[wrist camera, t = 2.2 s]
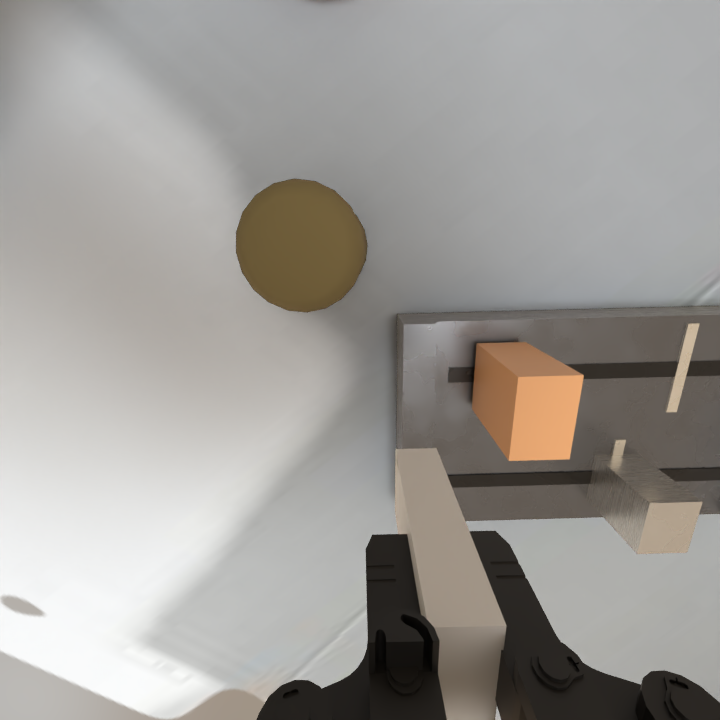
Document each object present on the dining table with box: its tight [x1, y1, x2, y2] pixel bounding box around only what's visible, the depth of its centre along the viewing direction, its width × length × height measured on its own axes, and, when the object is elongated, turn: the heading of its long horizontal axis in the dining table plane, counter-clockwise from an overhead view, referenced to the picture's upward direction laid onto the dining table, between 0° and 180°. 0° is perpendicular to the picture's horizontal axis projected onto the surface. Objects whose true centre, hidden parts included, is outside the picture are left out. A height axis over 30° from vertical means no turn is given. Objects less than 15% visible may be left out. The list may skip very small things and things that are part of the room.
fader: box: [472, 342, 584, 461], centre depth 20 cm, size 4×3×6 cm
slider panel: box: [396, 306, 720, 554], centre depth 24 cm, size 15×26×8 cm, turn 91°
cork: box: [236, 179, 367, 312], centre depth 19 cm, size 6×6×11 cm
